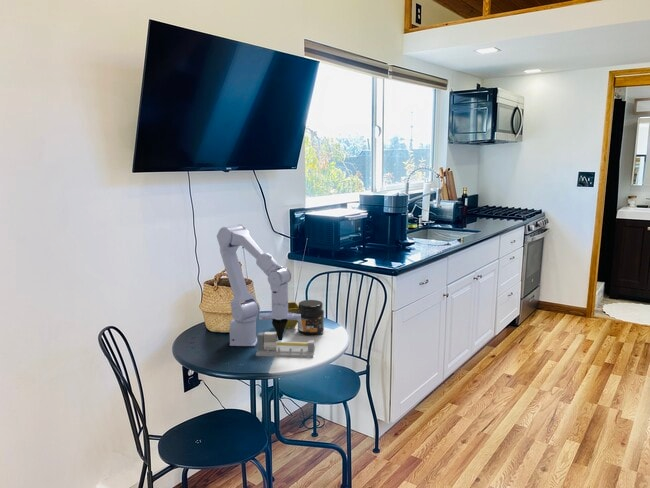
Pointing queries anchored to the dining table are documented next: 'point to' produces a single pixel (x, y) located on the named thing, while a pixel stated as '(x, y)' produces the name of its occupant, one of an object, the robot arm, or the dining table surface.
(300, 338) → the dining table surface
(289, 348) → the slider rail
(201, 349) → the dining table surface
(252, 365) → the dining table surface
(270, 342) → the sleeve
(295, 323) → the flower pot
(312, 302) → the supplement container
